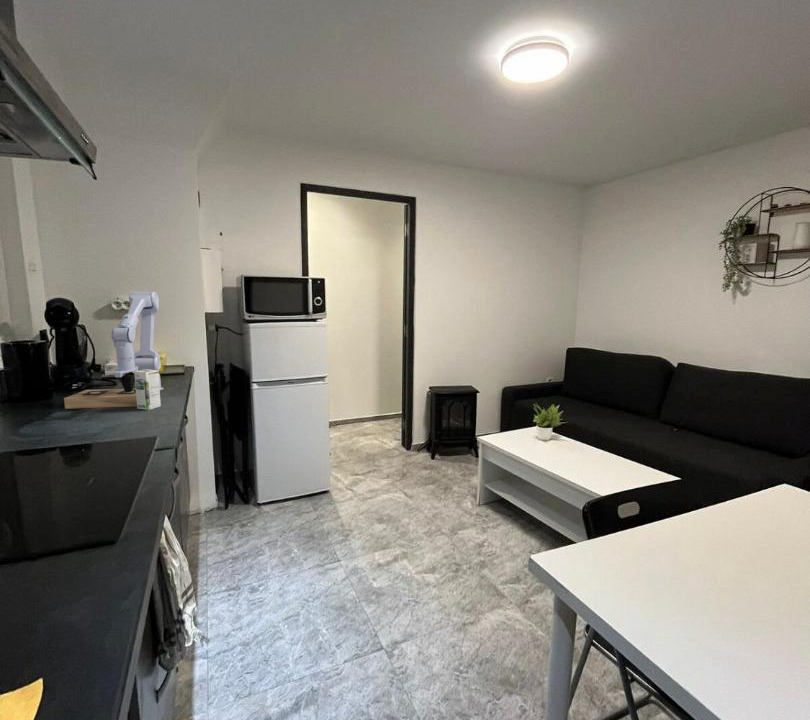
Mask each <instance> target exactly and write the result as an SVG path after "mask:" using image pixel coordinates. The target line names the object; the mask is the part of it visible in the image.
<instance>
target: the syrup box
mask: <svg viewBox="0 0 810 720" xmlns="http://www.w3.org/2000/svg"><path fill="white" fill-rule="evenodd" d="M133 373H134V374H135V381H134V385H135V389H136V398H137V406H136V409H137V410H146V411H150V410H153V409H156V408H160V407H161V406H162V404H161V403H162V402H161V390H160V389H159V375H158V373H159V371H158V370H148V369H144V370H138V371H134V372H133Z"/></svg>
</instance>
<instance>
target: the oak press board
mask: <svg viewBox="0 0 810 720" xmlns="http://www.w3.org/2000/svg"><path fill="white" fill-rule="evenodd" d="M133 391H134V392H129V393H124V392H125V390H124V388H115V389H114V388H112V389H110V388H108V389H106V388H105V389H84V390H81V391H79V392H77V393H74V394H72V395H69V396H67V397H64V398H63V400H64V401H63V402H64V408H65V409H67V410H68V409H70V410H71V409H90V408H91V409H96V408H121V407H122V408H124V407H137V398H136V388H133ZM91 392H100V393H96V394H90V393H91Z"/></svg>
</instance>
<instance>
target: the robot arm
mask: <svg viewBox="0 0 810 720" xmlns="http://www.w3.org/2000/svg"><path fill="white" fill-rule="evenodd" d="M128 294H129V295H128V301H129V308H128V311H127V313H125V314H123V315H122V318H121V319H120V322H119V323H118V326H117V327H115V328H114V329H112V330H111V334H110V335H111V336H110V337H111V340H112V343H113V346H114V348H115V353H116V354H115V355H116V363H117V368H115V369H114V377H115V378H116V379H118V381H119V382H120V383H121V384H122V385H121V386H122V387H123V388H122V389H124V390H125V392H132V391H133V389H134V385H135V374H134V372H135V371H138V370H144V369H148V370H158V375H159V389H160V391H162V390H164V387H162V385H161V383H162V382H161V374H160V373H159V370H160V369H161V368H162V360H161V355H160V354H159V353H158V352H156V350H154V342H155V341H154V338H155V337H154V336H155V335H154V333H155V315H156V313H157V312H159V307H160V306H159V303H160V298H159V296H158V293H157V292H156V291H154V290H153V291H134V290H132V291H130V292H129V293H128ZM140 315H141V316H140ZM139 316H140V317H141V318H139ZM139 319H140V320H141V321H140V320H139ZM139 321H140V322H141V323H140V343H139V350H137V351H136V352H135V351H134V342H135V340H136V333H137V330H136V329H137V328H138V324H139Z"/></svg>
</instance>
